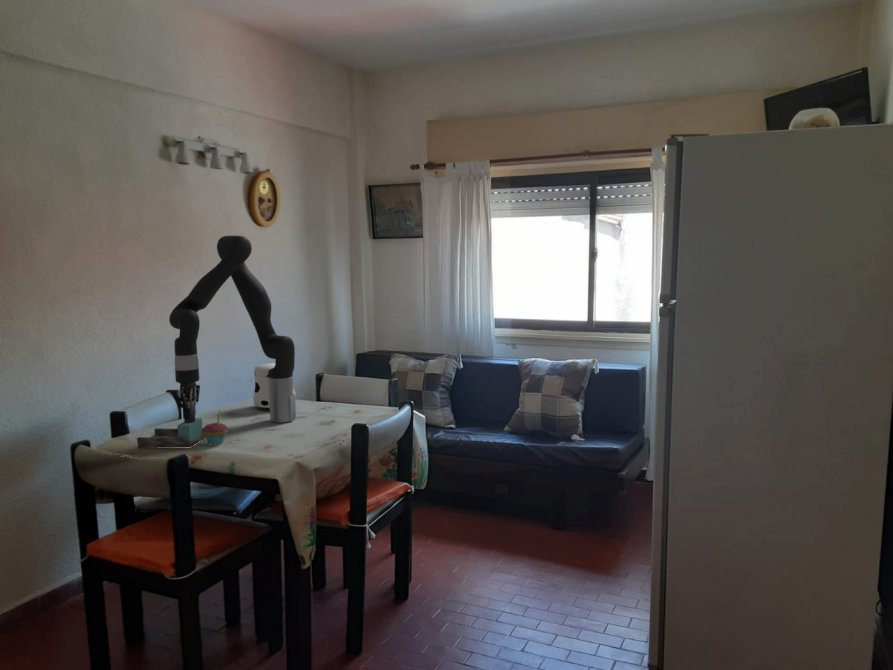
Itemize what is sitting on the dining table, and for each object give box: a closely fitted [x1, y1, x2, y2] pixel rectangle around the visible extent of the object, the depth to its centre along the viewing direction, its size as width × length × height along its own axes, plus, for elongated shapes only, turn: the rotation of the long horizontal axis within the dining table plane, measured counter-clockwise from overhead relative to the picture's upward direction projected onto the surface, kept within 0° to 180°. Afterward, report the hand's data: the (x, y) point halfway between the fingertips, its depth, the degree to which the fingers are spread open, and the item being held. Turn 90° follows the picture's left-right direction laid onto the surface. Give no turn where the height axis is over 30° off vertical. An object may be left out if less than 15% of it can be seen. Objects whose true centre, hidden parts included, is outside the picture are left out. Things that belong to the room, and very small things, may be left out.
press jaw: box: [176, 401, 203, 442], centre depth 225 cm, size 4×10×13 cm, turn 177°
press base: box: [136, 427, 206, 449], centre depth 226 cm, size 18×13×4 cm
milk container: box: [252, 362, 296, 411], centre depth 279 cm, size 17×17×18 cm
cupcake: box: [202, 409, 229, 446], centre depth 225 cm, size 9×8×12 cm
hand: (189, 417), depth 225 cm, fingers closed on press jaw, 3 cm apart
